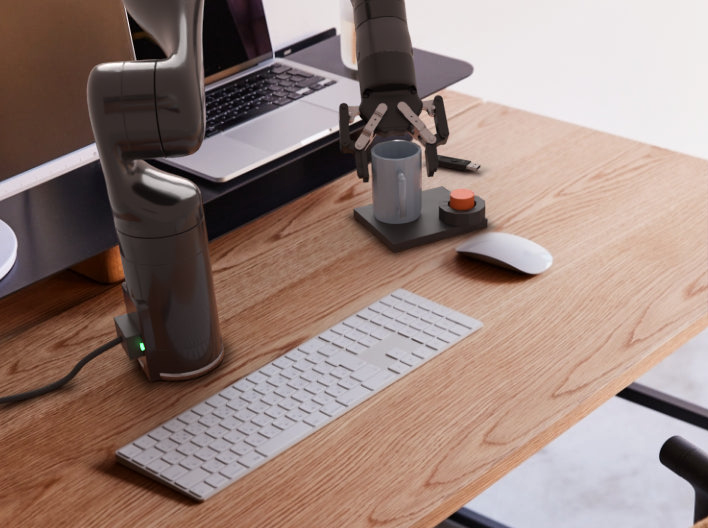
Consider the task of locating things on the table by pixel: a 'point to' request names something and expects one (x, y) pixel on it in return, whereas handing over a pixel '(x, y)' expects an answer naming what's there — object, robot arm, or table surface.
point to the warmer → (426, 221)
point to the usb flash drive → (457, 163)
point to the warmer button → (462, 199)
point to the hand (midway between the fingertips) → (398, 177)
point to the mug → (396, 181)
